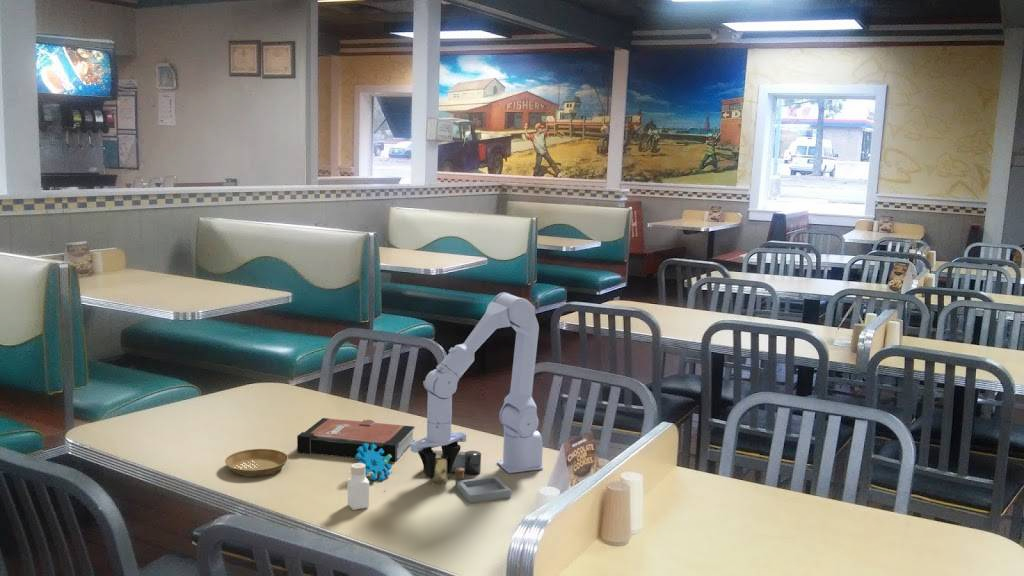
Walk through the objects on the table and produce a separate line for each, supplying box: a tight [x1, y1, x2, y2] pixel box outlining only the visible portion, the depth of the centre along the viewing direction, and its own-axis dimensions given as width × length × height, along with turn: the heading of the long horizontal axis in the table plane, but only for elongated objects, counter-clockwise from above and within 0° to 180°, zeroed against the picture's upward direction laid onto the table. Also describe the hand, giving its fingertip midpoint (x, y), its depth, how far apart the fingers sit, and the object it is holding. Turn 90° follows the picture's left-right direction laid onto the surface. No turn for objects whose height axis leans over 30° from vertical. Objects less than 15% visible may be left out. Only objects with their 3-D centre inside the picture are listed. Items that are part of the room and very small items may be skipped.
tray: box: [456, 475, 512, 504], centre depth 203 cm, size 10×9×2 cm
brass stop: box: [428, 454, 449, 485], centre depth 209 cm, size 4×4×6 cm
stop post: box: [454, 468, 465, 488], centre depth 207 cm, size 2×2×4 cm
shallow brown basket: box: [224, 448, 289, 478], centre depth 214 cm, size 15×15×3 cm
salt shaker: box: [347, 462, 370, 511], centre depth 193 cm, size 4×4×10 cm
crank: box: [422, 449, 482, 475], centre depth 216 cm, size 14×4×5 cm, turn 88°
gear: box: [354, 443, 393, 481], centre depth 212 cm, size 11×6×10 cm
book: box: [296, 417, 416, 463], centre depth 231 cm, size 26×18×5 cm
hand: (438, 475), depth 210 cm, fingers closed on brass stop, 4 cm apart
